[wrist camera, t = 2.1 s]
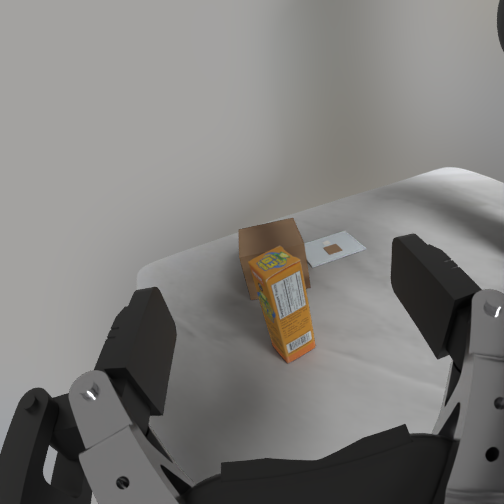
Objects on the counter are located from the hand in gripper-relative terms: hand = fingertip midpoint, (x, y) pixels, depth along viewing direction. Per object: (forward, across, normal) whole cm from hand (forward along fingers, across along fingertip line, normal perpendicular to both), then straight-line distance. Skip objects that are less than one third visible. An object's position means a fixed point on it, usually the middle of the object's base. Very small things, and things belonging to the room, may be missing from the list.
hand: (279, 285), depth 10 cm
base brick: (+24, 0, +16) cm, 28 cm away
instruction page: (+27, -8, +15) cm, 32 cm away
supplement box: (+11, 0, +16) cm, 19 cm away
